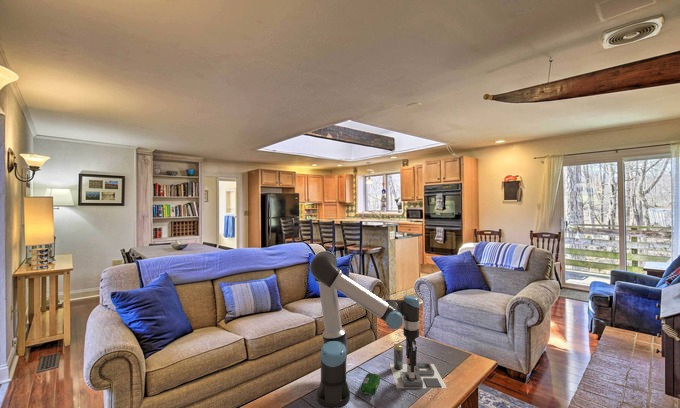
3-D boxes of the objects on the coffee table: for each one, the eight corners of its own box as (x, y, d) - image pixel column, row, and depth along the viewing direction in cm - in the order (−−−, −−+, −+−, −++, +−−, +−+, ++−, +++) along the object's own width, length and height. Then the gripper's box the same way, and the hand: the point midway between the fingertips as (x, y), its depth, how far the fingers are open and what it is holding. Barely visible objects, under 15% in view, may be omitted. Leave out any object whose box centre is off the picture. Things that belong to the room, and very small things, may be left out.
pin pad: (426, 387, 149) (426, 386, 149) (423, 379, 156) (423, 378, 156) (441, 387, 149) (441, 386, 149) (437, 379, 156) (437, 378, 156)
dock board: (396, 389, 149) (396, 388, 149) (389, 365, 171) (389, 363, 171) (447, 389, 149) (447, 388, 149) (433, 365, 171) (433, 364, 171)
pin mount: (403, 387, 149) (403, 382, 149) (400, 376, 158) (400, 371, 158) (422, 387, 149) (422, 382, 149) (418, 376, 158) (418, 371, 158)
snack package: (358, 397, 143) (358, 386, 143) (367, 379, 158) (367, 369, 158) (373, 401, 141) (373, 390, 140) (381, 382, 155) (381, 372, 155)
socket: (418, 375, 160) (418, 371, 160) (414, 366, 168) (414, 363, 168) (434, 375, 160) (434, 371, 160) (429, 366, 168) (429, 363, 168)
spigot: (394, 370, 164) (394, 347, 164) (393, 365, 169) (393, 343, 169) (403, 370, 164) (403, 347, 164) (401, 365, 169) (401, 343, 169)
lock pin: (407, 383, 152) (407, 361, 152) (406, 379, 156) (406, 357, 156) (415, 383, 152) (415, 361, 152) (413, 379, 156) (413, 357, 156)
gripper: (423, 335, 145) (422, 385, 145) (414, 321, 162) (414, 366, 162) (407, 335, 145) (406, 385, 145) (400, 321, 162) (399, 366, 162)
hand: (410, 375), depth 154 cm, fingers closed on lock pin, 4 cm apart
